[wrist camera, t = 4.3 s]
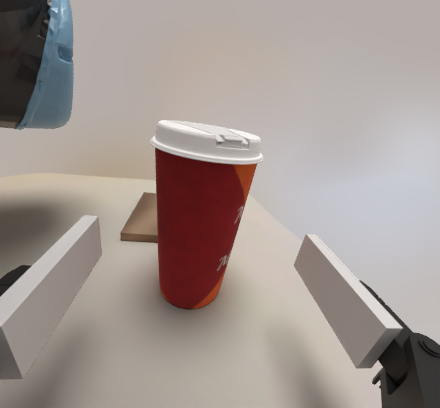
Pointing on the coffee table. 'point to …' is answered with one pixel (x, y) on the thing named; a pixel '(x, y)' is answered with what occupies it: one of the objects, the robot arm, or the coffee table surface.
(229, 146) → the paper cup
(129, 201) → the coffee table surface
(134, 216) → the walnut pad
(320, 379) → the coffee table surface
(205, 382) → the coffee table surface
